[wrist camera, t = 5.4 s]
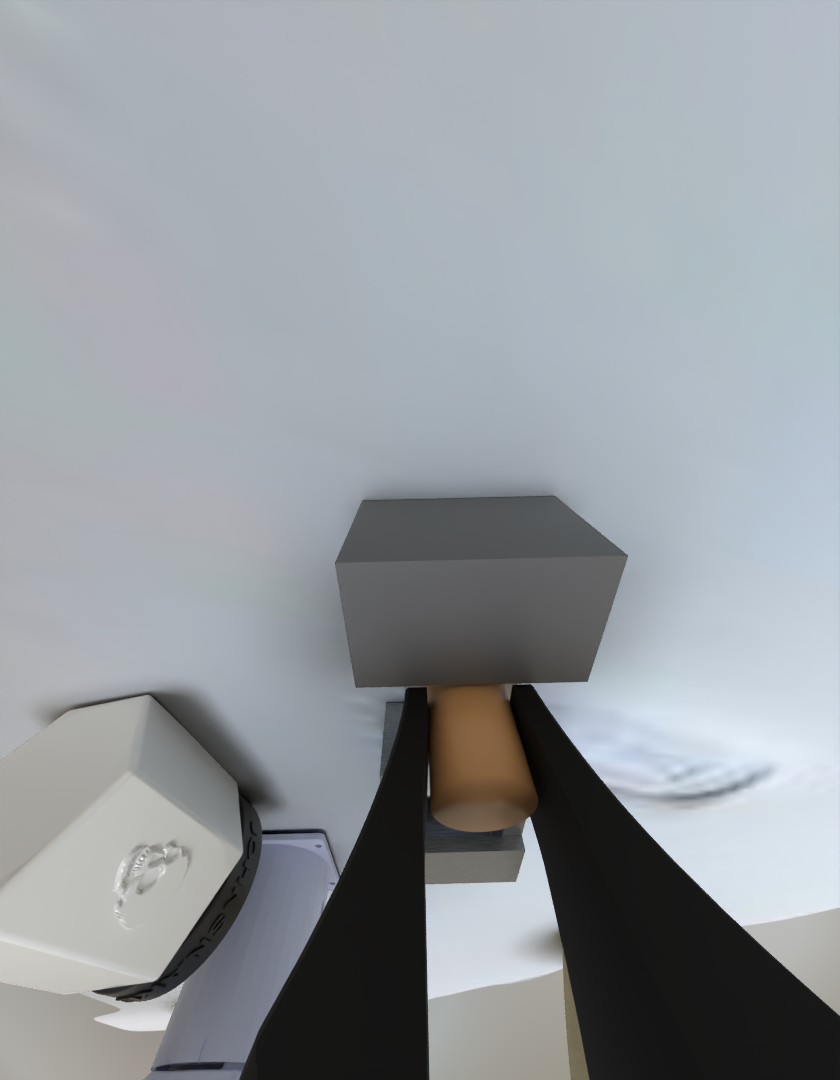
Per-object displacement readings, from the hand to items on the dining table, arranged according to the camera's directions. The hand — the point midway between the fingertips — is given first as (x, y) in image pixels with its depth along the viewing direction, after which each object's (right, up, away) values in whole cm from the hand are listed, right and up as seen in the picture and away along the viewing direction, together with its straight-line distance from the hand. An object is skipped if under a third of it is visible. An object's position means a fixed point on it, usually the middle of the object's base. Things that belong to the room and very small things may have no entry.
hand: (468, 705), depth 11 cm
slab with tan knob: (0, 0, +4) cm, 4 cm away
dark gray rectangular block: (0, +6, +2) cm, 6 cm away
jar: (-18, -4, +2) cm, 18 cm away
